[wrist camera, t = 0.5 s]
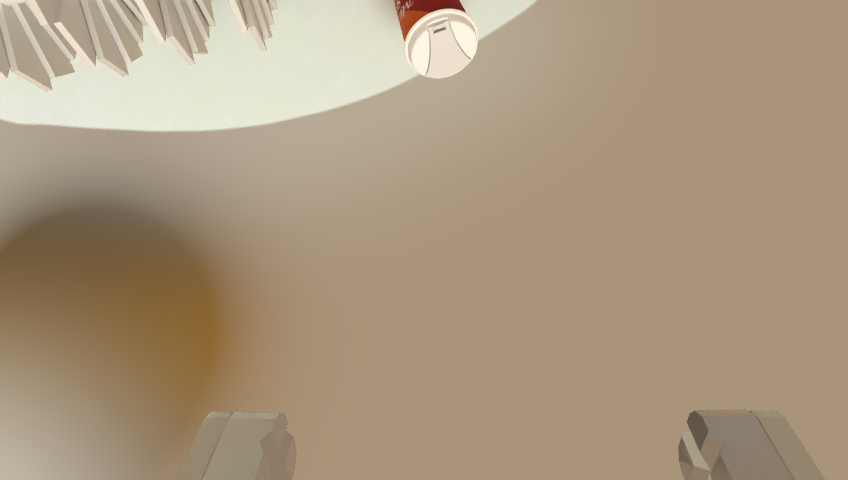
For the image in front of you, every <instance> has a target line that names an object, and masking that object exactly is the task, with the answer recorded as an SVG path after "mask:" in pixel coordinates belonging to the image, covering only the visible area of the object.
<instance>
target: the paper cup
mask: <svg viewBox="0 0 848 480" xmlns="http://www.w3.org/2000/svg"><path fill="white" fill-rule="evenodd" d="M394 2H395V6H396V10H397V14H398V18H399V22H400V26H401V30H402V34H403V37H404V41H405V44H404V53H405V57H406V60H407V62H408V63H409V65H410V66H411V67H412V68H413V69H415V70H416V71H417V72H418V73H420V74H421V75H423V76H426V77H430V78H445V77H449V76H451V75H454V74H456V73H458V72H459V71H461V70H462V69H463V68H465V67H466V66H467V65H468V64H469V62H470V61H471V59H473V57H474V55H475V53H476V49H477V42H478V28H477V25H476V23H475V21H474V20H473V18H472V17H471V16H469V15H468V14H467V13H466V12H465V10H464V8H463V6H462V5H461V3H460V1H459V0H394Z"/></svg>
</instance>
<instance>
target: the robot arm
mask: <svg viewBox="0 0 848 480" xmlns="http://www.w3.org/2000/svg"><path fill="white" fill-rule="evenodd" d="M687 424H688V426H689V428H690V431H688V432H687V433H685V434H684V435H682V436H681V440H680V443H679V447H678V448H679V462H680V466H681V471H682V474H683V476H684V479H685V480H826V479H825V478H824V476H823V475H822V473H821V472H820V470H819V469H818V467H817V466H816V464H815V462H814V461H813V459H812V458H811V456H810V455H809V453H808V452H807V450H806V449H805V447H804V446H803V444H802V442H801V441H800V439H799V438H798V436H797V435H796V433H795V432H794V430H793V429H792V427H791V426H790V425H789V422H788V421H787V419H786V418H785V416H784V415H783V414H781V413H780V412H779V411H775V410H752V411H747V410H698V411H693V412H692V413H690V415H689V417H688V420H687ZM287 425H288V421H287V419H286V417H285V414H284V413H260V412H259V413H257V412H211V413H210V414H209V415H208V416H207V417H206V418H205V419H204V421H203V423H202V425H201V427H200V429H199V432H198V433H197V435H196V437H195V440H194V441H193V444H192V446H191V448H190V450H189V452H188V454H187V456H186V458H185V460H184V462H183V464H182V466H181V468H180V471H179V473H178V475H177V477H176V479H175V480H292V477H293V473H294V470H295V462H296V461H295V460H296V445H295V441H294V438H293V436H292V435H291V434H289V433H288V432H287V431H286V428H287Z"/></svg>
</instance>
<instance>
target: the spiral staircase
mask: <svg viewBox="0 0 848 480" xmlns="http://www.w3.org/2000/svg"><path fill="white" fill-rule="evenodd" d="M228 1H229V4H230V6H231V8H232V11H233V13H234V16H235V18H236V20H237V23H238V25H239V28H240V30H241V32H242V34H244V33H248V28H247V23H248V27H249V29H250V31H251V33H252V35H253V37H254V38H255V40H256V42H257V44H258V46H259V48H260V50H261V52H262V51H266V50H267V49H266V46H265V42H264V39H267V38H271V37H272V34H271V31H270V27H269V25H274V21H273V17H272V12H271V7H272V10H274V9H277V5H276V2H275V0H228ZM269 2H270V3H269ZM270 5H271V7H270ZM246 20H247V21H246ZM142 24H143V25H145V24H148V25H149V27H150V29H151V30H152V32H153V34H154V36H155V38H156V40H157V41H158V43H159V44H160V43H164V42H165V40H166V33H167V37H168V39H169V40H170V41H171V43H172V44H173V45H174V47H175V48H176V49H177V50H178V52H179V53H180V54H181V55H182V57H183V58H184V59H185V61H186V62H187V63H188V64H189V65H192V64H195V63H194V59H193V54H192V53H198V54H206V53H208V51H207V48H206V46H205V43H204V41H208V40H209V25H210V27H212V26H215V21H214V16H213V11H212V6H211V1H210V0H0V80H2V79H6V78H7V77H8V73H9V70H10V68H11V72H13V73H15V74H16V75H18V76H20V77H22V78H23V79H25V80H27V81H29V82H30V83H32V84H34V85H36V86H38V87H39V88H41V89H43V90H45V91H46V92H47V91H51V90H52V86H51V82H50V79H49V78H54V77H58V76H62V75H66V74H69V73H73V72H75V71H74V69H73V67H72V65H71V63H70V60H74V59H75V55H76V52H77V53H78V55H79V56H80V57H81V58H82V60H83V61H84V62H85V63H86V65H87V66H88V67H89V68H92V67H96V55H97V58H98V60H99V61H101V62H102V63H104V64H105V65H107V66H108V67H110V68H111V69H113V70H114V71H116V72H117V73H119V74H120V75H122V76H127V75H129V74H128V71H127V68H126V64H125V63H129V62H132V61H134V60H135V59H137V58H138V57H140V56H142V55H143V54H142V52H141V50H140V48H139V45H138V43H142V42H143V26H142ZM261 31H262V32H261ZM262 34H263V35H262ZM263 38H264V39H263Z"/></svg>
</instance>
